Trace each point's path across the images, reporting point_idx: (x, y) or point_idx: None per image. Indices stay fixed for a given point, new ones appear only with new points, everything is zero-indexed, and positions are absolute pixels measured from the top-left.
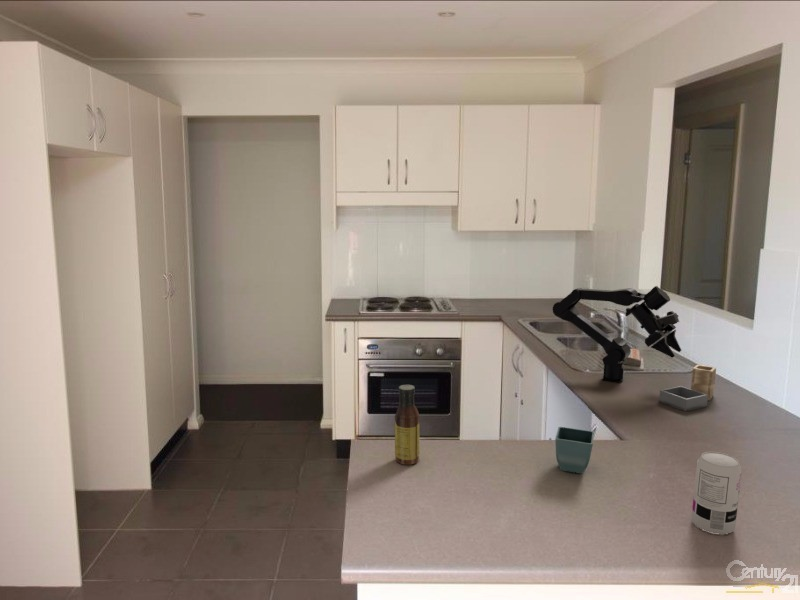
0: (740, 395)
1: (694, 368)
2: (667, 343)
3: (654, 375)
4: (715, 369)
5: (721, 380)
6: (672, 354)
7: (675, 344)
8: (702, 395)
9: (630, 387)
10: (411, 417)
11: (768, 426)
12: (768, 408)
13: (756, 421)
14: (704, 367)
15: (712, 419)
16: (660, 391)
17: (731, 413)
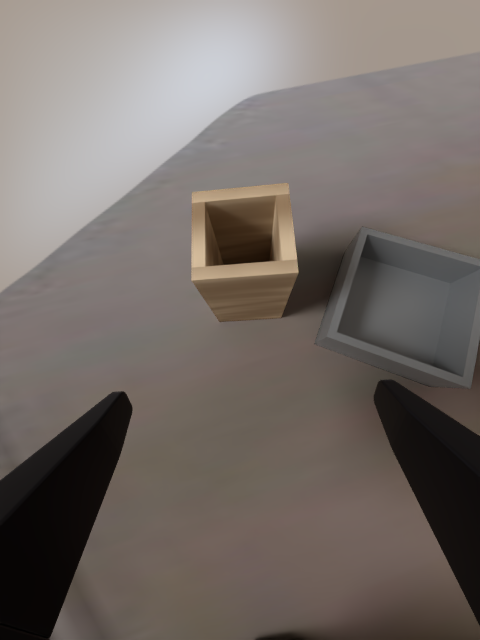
0: (159, 212)
1: (296, 265)
2: (52, 609)
3: None
4: (208, 195)
5: (23, 292)
6: (412, 399)
7: (72, 480)
8: (388, 237)
9: (336, 558)
10: None
11: (381, 109)
12: (232, 140)
13: (365, 134)
14: (206, 243)
15: (451, 209)
16: (467, 385)
17: (351, 188)
